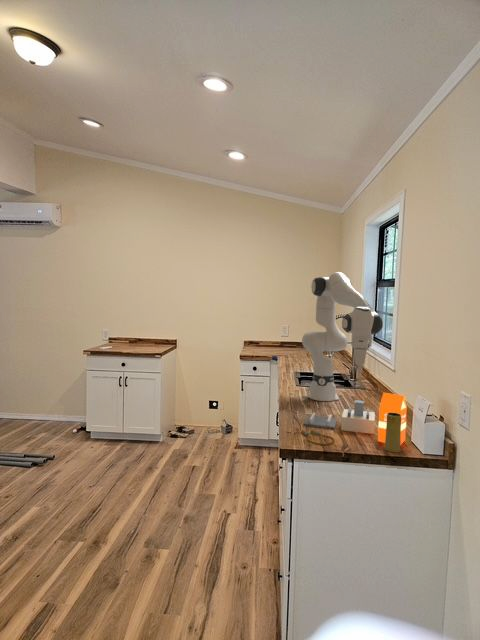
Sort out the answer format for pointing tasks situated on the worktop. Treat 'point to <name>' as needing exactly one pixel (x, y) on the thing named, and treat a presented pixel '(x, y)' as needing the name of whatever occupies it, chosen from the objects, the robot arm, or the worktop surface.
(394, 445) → the vase
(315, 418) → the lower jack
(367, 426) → the block
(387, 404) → the orange juice
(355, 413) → the plug
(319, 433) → the coiled cable
